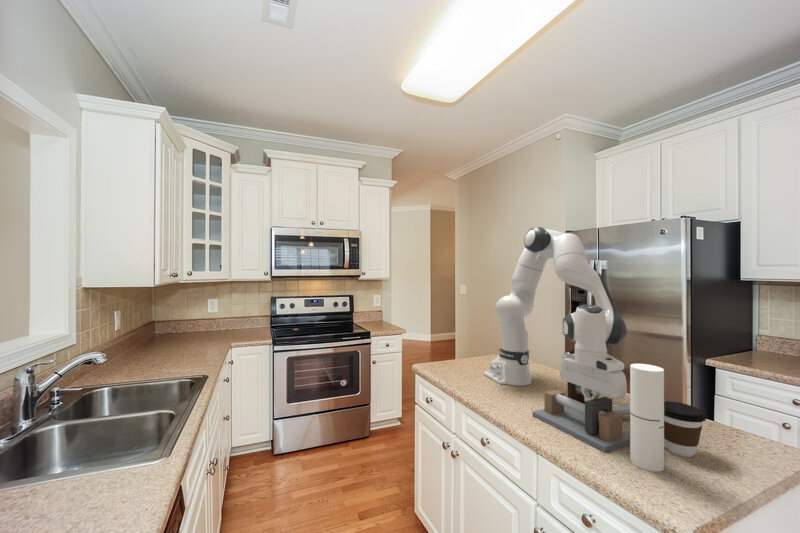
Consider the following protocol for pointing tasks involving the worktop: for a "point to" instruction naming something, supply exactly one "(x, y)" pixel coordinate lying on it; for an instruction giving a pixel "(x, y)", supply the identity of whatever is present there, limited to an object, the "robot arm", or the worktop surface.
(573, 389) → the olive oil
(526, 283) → the robot arm
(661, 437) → the cylindrical container
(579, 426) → the pipe stand
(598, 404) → the collar
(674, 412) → the coffee cup
